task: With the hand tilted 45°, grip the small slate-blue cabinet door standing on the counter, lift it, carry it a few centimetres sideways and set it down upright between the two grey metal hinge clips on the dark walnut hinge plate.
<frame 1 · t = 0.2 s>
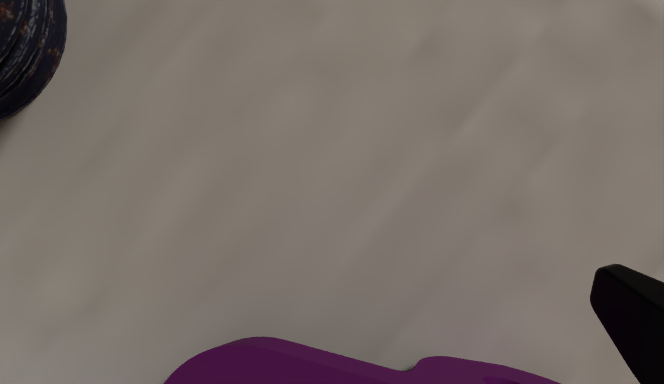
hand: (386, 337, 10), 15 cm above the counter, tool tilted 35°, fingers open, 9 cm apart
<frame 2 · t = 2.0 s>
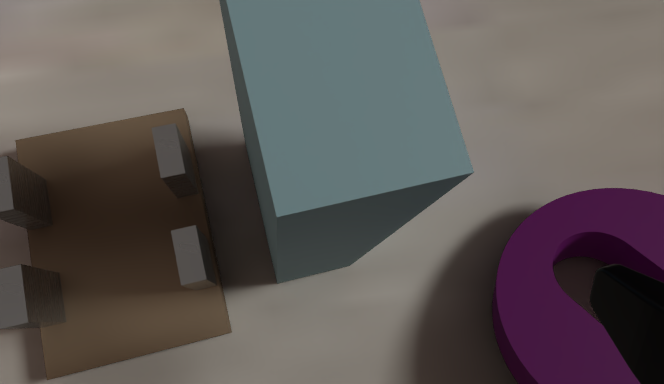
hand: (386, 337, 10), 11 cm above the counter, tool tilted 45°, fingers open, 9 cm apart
hinge plate: (127, 238, 21), on the counter
door: (296, 203, 22), on the counter
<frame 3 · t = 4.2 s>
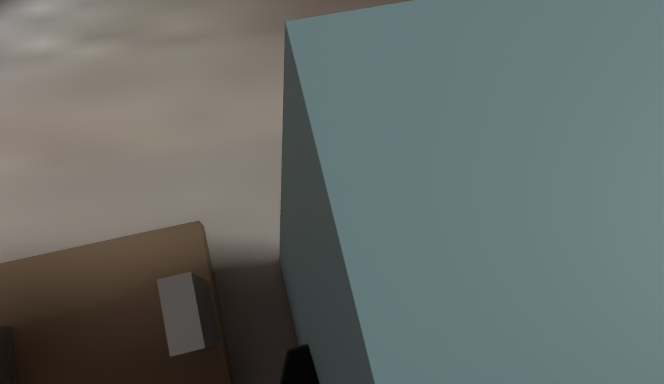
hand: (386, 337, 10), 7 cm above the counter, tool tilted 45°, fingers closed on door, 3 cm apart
door: (347, 343, 16), on the counter, touching gripper
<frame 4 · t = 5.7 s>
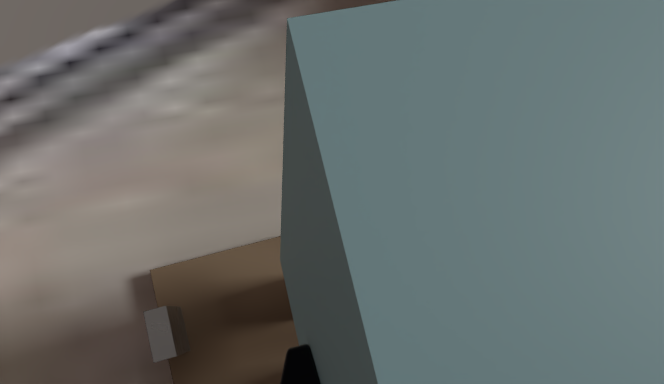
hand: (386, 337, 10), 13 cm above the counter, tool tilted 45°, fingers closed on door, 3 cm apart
hinge plate: (252, 354, 23), on the counter
door: (348, 342, 16), point 7 cm above the counter, touching gripper
when the fingers open (9 cm above the counter, at t = 7.2 s): door drops 1 cm, resting on hinge plate.
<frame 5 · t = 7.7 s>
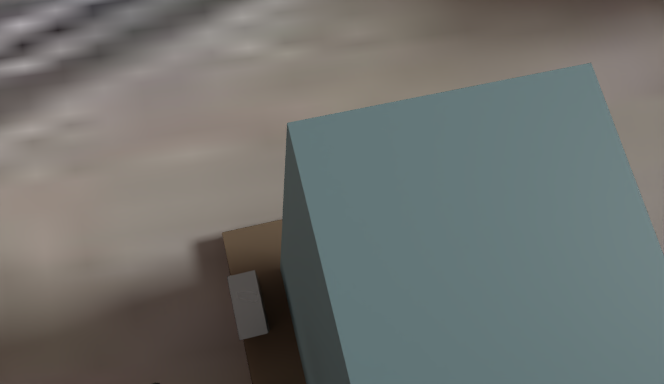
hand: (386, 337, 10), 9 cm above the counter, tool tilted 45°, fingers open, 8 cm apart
hinge plate: (338, 339, 19), on the counter
door: (343, 344, 18), point 1 cm above the counter, touching hinge plate
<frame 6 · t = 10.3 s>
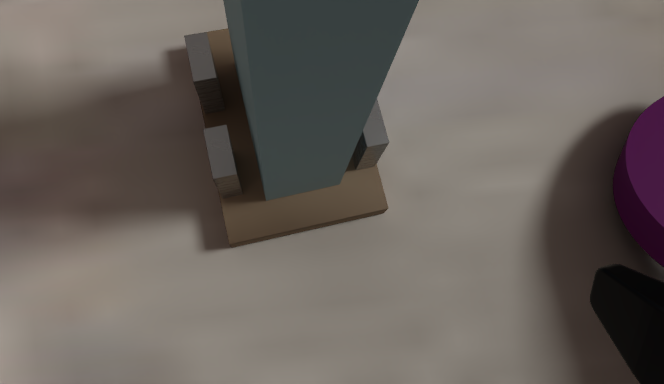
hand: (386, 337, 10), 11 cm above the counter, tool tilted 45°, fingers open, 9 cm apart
hinge plate: (285, 128, 23), on the counter
door: (286, 122, 22), point 1 cm above the counter, touching hinge plate
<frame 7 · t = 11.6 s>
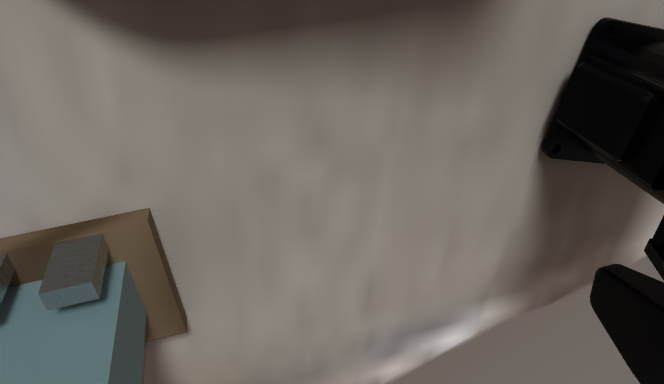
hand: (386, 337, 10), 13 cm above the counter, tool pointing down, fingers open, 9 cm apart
hinge plate: (64, 289, 23), on the counter
door: (63, 304, 22), point 1 cm above the counter, touching hinge plate
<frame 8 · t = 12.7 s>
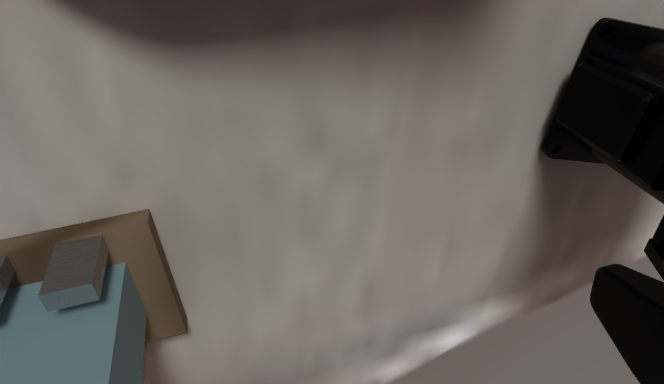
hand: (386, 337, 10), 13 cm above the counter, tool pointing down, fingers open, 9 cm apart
hinge plate: (65, 290, 23), on the counter
door: (64, 305, 22), point 1 cm above the counter, touching hinge plate
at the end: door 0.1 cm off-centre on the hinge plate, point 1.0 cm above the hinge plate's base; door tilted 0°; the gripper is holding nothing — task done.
